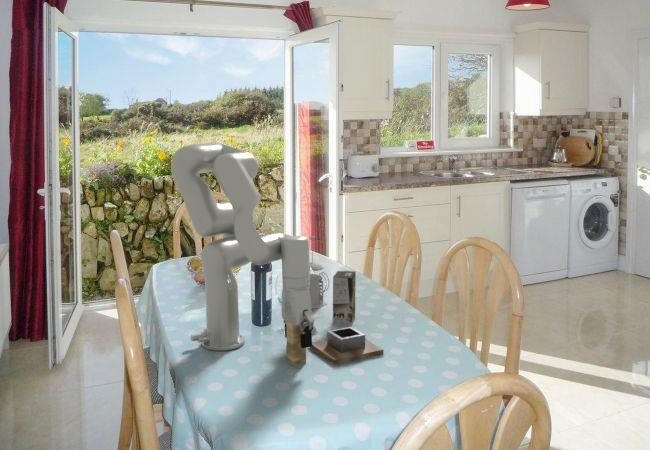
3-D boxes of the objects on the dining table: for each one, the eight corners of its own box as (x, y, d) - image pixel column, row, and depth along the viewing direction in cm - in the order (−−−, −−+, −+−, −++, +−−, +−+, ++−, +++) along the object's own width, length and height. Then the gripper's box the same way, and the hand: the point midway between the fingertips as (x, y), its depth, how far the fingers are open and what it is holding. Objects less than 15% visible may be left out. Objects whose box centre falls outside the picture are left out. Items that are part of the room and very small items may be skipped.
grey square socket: (341, 353, 178) (341, 339, 178) (327, 344, 185) (327, 331, 185) (365, 348, 182) (365, 334, 182) (350, 339, 189) (350, 326, 188)
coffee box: (351, 326, 205) (352, 278, 202) (332, 325, 206) (332, 277, 203) (356, 317, 214) (356, 270, 211) (337, 316, 215) (337, 270, 212)
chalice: (303, 337, 195) (303, 281, 192) (294, 331, 201) (293, 275, 198) (324, 333, 198) (324, 277, 195) (315, 327, 204) (314, 273, 201)
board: (334, 365, 174) (334, 360, 174) (309, 347, 187) (309, 342, 186) (383, 354, 181) (383, 349, 181) (355, 338, 194) (356, 333, 194)
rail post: (293, 365, 174) (292, 323, 172) (286, 360, 177) (286, 319, 175) (306, 362, 176) (305, 321, 174) (299, 357, 179) (299, 317, 177)
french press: (309, 298, 235) (309, 232, 231) (335, 303, 229) (335, 235, 224) (293, 305, 228) (292, 236, 223) (319, 310, 221) (319, 240, 216)
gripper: (270, 277, 178) (273, 335, 181) (298, 290, 163) (300, 354, 166) (294, 273, 182) (296, 330, 184) (323, 286, 167) (325, 348, 169)
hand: (298, 341), depth 175 cm, fingers open, 9 cm apart
